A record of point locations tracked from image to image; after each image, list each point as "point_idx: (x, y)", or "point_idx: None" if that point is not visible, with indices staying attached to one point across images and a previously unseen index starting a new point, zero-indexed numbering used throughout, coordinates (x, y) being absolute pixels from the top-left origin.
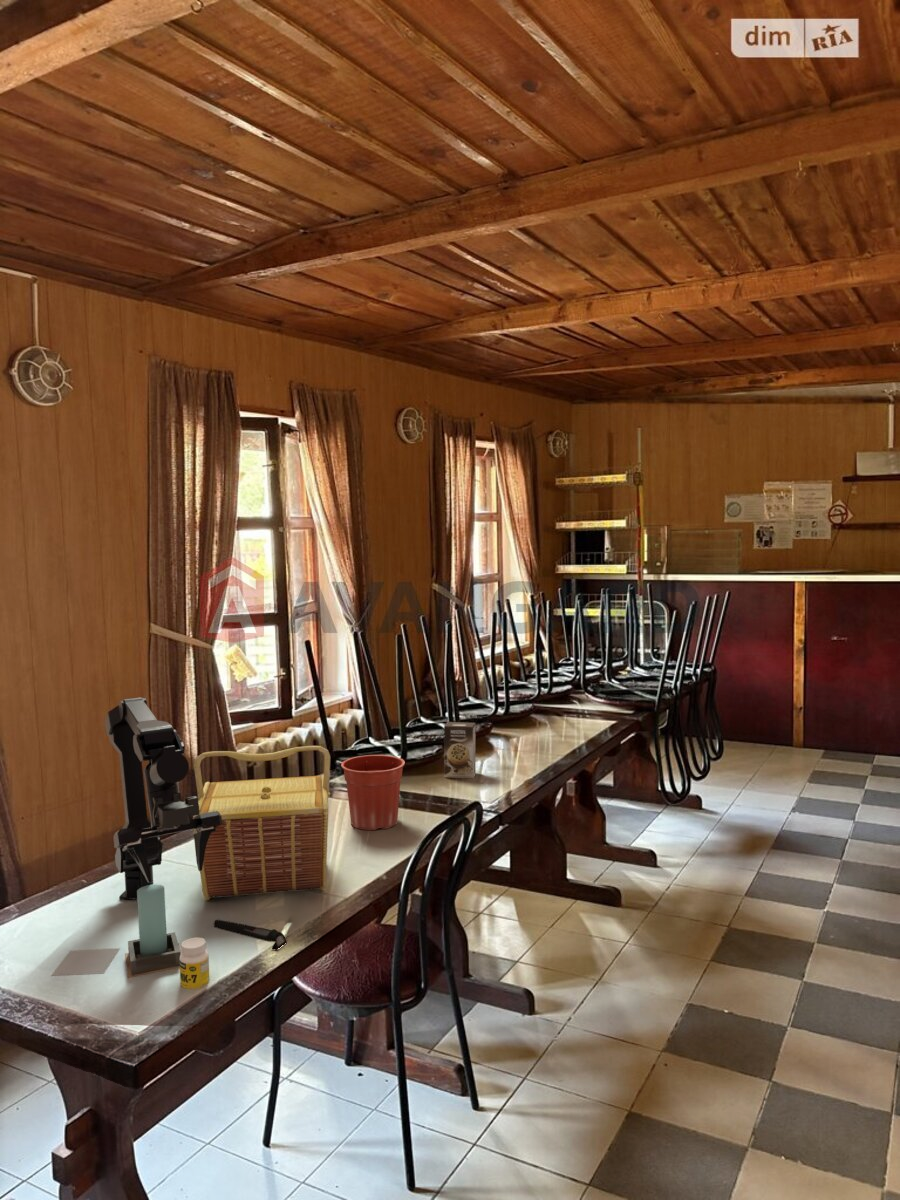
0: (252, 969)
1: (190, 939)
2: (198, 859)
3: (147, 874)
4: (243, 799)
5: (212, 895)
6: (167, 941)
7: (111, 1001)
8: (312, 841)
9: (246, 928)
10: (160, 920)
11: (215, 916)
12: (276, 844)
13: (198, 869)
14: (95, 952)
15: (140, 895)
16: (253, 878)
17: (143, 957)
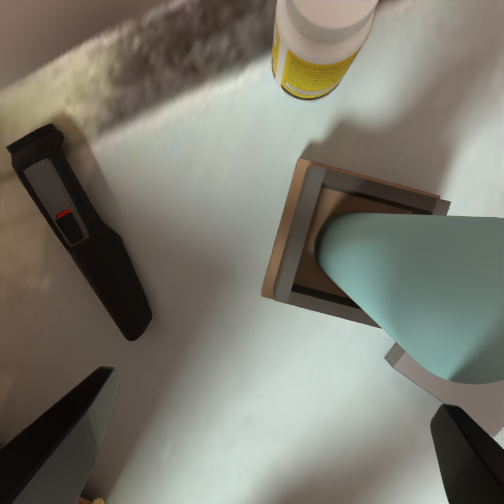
0: (148, 69)
1: (334, 14)
2: (73, 446)
3: (497, 450)
4: None
5: (83, 499)
6: (298, 289)
7: (487, 151)
8: None
9: (81, 233)
10: (385, 216)
11: (116, 408)
12: None
13: (115, 396)
14: (449, 386)
15: None
16: None
17: (411, 203)
